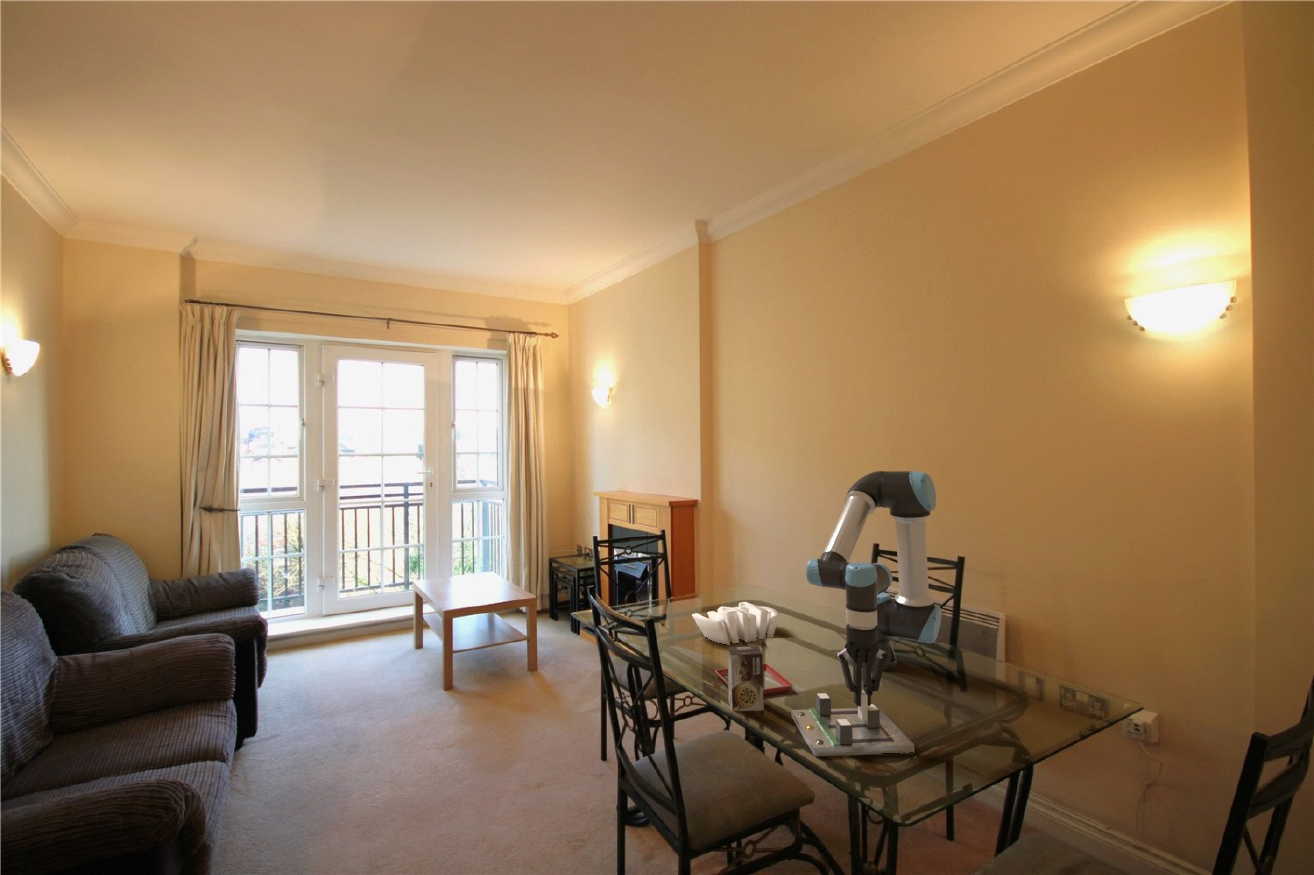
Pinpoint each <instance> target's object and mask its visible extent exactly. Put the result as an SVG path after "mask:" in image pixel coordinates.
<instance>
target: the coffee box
mask: <svg viewBox="0 0 1314 875" xmlns="http://www.w3.org/2000/svg"><path fill="white" fill-rule="evenodd" d="M763 659H764V658H763V652H762V650H761V648H760V646H758V645H755V646H754V645H750V646H745V645H744V646H727V669H728V675H727V676H728V677H727V679H728V680H727V682H728V686H727V687H728V688H727V689H728V704H729V706H730V709H731V711H732V712H751V711H752V712H754V711H755V712H757V711H765V704H764V703H765V700H764V698H765V697H764V693H763V689H764V671H763V664H764V660H763Z"/></svg>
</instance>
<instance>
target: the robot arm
mask: <svg viewBox="0 0 1314 875" xmlns="http://www.w3.org/2000/svg"><path fill="white" fill-rule="evenodd" d="M935 488H936V487H935V484H934V482H933V479H932V477H931V476H930V475H929V474H928V473H926V472H921V471H914V470H912V471H911V470H910V471H907V470H903V471H901V470H899V471H898V470H896V471H893V470H892V471H886V470H876V471H872V472H870V473H868V474H866V475H863V476H862V477H860V478H859V479H858V480H857V481H856V482H854V483H853V484H852V485H851V486H850V487H849V489H848V491H847V492H846V493H845V494H846V495H845V497H844V498H843V501H844V507H843V509H842V511H841V513H840V516H839V517H838V520H837V522H836V524H835V526H834V528H833V530H832V532H831V535H830V536H829V539H828V541H827V543H826V545H825V547H824V549H823V552H822V553H821V556H820V557H815V558H811V559H809V560H808V561H807V564H806V568H805V577H806V580H807V583H809V584H811V585H812V586H817V587H821V588H829V589H837V590H843V591H845V618H846V619H845V622H846V625H845V628H846V629H845V632H846V634H845V636H846V637H845V638H846V643H845V645H844V649H842V650H841V651H836V653H835V655H836V657H837V658H838V660H839V662H840V665H841V669H842V670H841V671H842V674H843V677H844V682H845V686H846V688H847V689H848V690H849V691H850V693H853V702H854V704H855V705H856V707H857V708H858V717H859V718H860V719H861V720H862V721H868V706H870V705H871V704H872V696H873V694H874V693H873V692H878V691H879V689H880V683H881V680H882V675H883V671H890V670H893V669H895V668H896V667H897V666H898V665H897V664H898V663H897V662H898V661H897V657H896V653H895V651H894V648H893V646H892V645H893V644H892V641H891V640H892V639H891V638H898V639H902V640H907V641H912V642H918V643H925V644H933V643H934V642H935V641H936V640H937V637H938V635H939V632H940V628H941V623H942V616H943V615H942V612H943V611H942V608H941V607H940V606H938V605H935V598H934V597H933V596H932V595H931V594H930V593H929V591H930V590H929V573H928V572H929V571H928V568H929V567H928V553H927V552H928V551H927V550H928V548H927V531H926V530H927V528H926V520H927V519H928V518H929V517H930V516H931V511H933V510H935V508H936V505H937V501H936V500H937V494H936V493H937V492H936V489H935ZM877 508H885V509H889V515H890V516H891V517H892V518H893V519H894V521H895V535H896V537H895V538H896V551H897V554H896V557H897V571H898V572H897V573H898V590H899V592H898V593H896V595H895V596H894V599H892V598H891V595H890V593H887V592H886V591H887V590H888V589H889V588H890V586H892V583H893V579H894V578H893V574H892V571H891V570H890V569H889V567H888V566H887V565H885V564H883V563H880V562H874V563H869V562H858V561H857V562H849V561H850V559H851V557H852V555H853V552H854V550H855V549H856V548H855V547H856V546H857V543H858V542H859V541H858V540H859V538H860V536H861V534H862V531H863V529H864V526H865V524H866V521H867V520H868V517H869V516H870V515H871V514H873V513H874V511H875V510H876V509H877ZM848 661H849V662H848ZM849 663H851V664H852V673H851V670H850V665H849ZM852 677H853V678H852ZM862 687H863V689H862Z"/></svg>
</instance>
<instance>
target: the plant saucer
mask: <svg viewBox="0 0 1314 875" xmlns="http://www.w3.org/2000/svg"><path fill="white" fill-rule="evenodd" d="M764 671H765V672H766V673H767V674H768V675H769V676H770V677H772V678H773V680H775V681H776V682H777V683H778V684H779V685H781V686H775V687H768V688H763V693H764V695H771V694H777V693H785V692H788V691H789V690H790V689H792V687H793V686H794V684H793V683H792V682H791V681H789V680H788V679H787V678H785V677H784V676H783V675H782V674H780V672H778V671H777V670H776V669H774V668H773V667H771V665H769V664H768V663H763V672H764ZM715 674H716V675H717V676H718V678H720V680H721V681H722V682H723V683H724V684H725V685H727V687H728V680H726V679H725V678H724V676H725V677H726V676H728V668H721V669H720V668H719V669H716V670H715Z"/></svg>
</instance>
